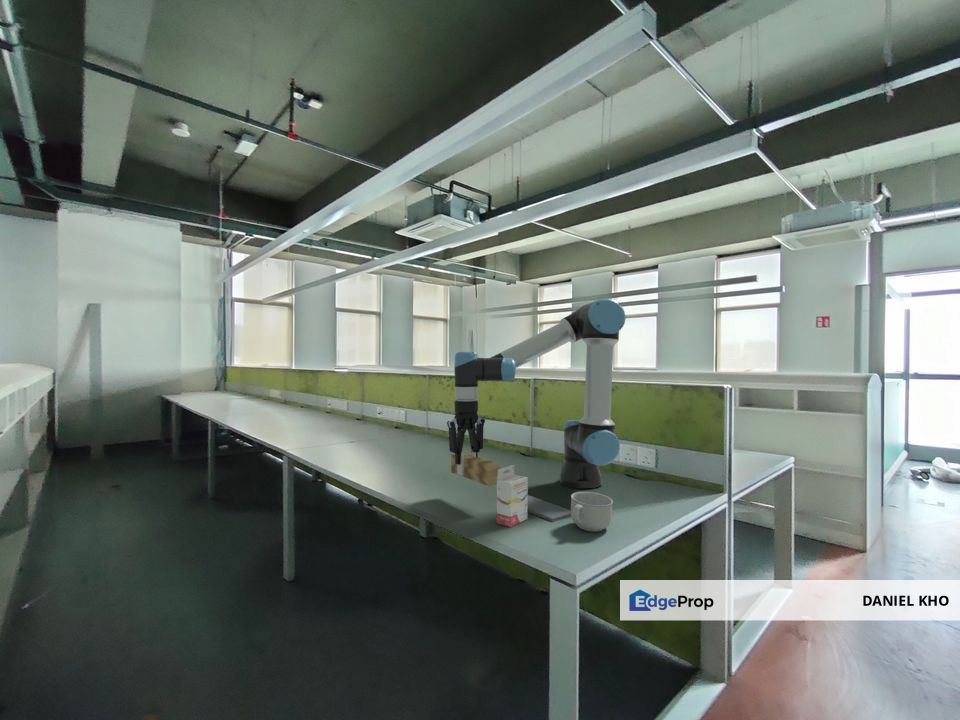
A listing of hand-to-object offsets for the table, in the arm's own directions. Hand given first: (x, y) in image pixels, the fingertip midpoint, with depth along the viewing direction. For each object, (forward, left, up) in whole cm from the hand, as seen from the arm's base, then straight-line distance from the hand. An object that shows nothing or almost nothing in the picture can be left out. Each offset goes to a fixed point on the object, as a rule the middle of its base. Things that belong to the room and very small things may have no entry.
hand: (466, 473), depth 134 cm
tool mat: (-13, +18, -9) cm, 24 cm away
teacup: (-12, +38, -9) cm, 41 cm away
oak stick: (0, +4, -1) cm, 4 cm away
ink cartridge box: (0, +22, -9) cm, 24 cm away
